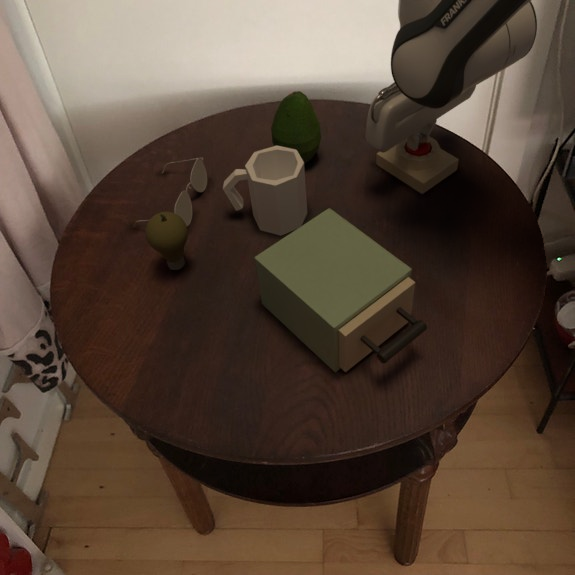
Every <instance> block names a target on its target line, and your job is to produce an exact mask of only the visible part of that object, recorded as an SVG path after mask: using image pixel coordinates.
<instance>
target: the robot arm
mask: <svg viewBox="0 0 575 575" xmlns="http://www.w3.org/2000/svg"><path fill="white" fill-rule="evenodd" d="M397 3H398V4H397V18H398V22H399V29H398V31H397V33H396V35H395V38H394V41H393V44H392V48H391V54H390V73H391V76H392V78H393V79H392V80H393V83H391V84H390V85H389V86H387V87H384V88H381V89H380V90H379V92H378V93H377V95H376V96H375V97H374V98H373V99H372V101H371V103H370V105H369V109H368V112H367V117H366V124H365V132H364V141H365V142H366V143H367V144H368V145H369V146H370V147H372V148H373V149H375V150H376V151H378V152H383V153H384V152H387V151H388V150H390V149H391V148H393V147H394V146H396V145H397V144H399V143H401V142H402V141H404V140H405V139H407V138H408V141H407V146H408V148H410V149H411V150H413V151H416V150H417V149H418V148H420V147H422V146H423V145H425V144H426V143H428V142H429V136H430V134H431V133H432V131H433V129H434V127H435V126H436V125H437V122H438V119H440V118H441V117H442V116H444V115H446V114H447V113H449V112H450V111H452V110H453V109H455V108H456V107H458V106H460V105H461V104H462V103H464V102H466V101H467V100H469V99H470V98H471V97H472V95H473V94H474V92H475V91H476V88H477V86H478V85H479V84H481V83H483V82H485V81H487V80H488V79H490V78H491V77H493V76H495V75H497V74H499V73H500V72H502V71H504V70H505V69H507V68H510V66H512V65H514V64H516V63H517V62H519V61H520V60H522V59H523V58H525V57H526V56H527V55H529V53H530V52H531V50H532V48H533V47H534V44H535V41H536V37H537V31H538V19H537V13H536V10H535V7H534V4H533V2H532V0H398V2H397Z"/></svg>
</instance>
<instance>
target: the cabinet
mask: <svg viewBox="0 0 575 575" xmlns="http://www.w3.org/2000/svg"><path fill="white" fill-rule="evenodd" d="M253 259H254V264H255V270H256V276H257V282H258V288H259V294H260V298H261V300H260V301H261V304H262V305H263V306H264V308H266V309H267V310H268V311H269V312H270V313H271V314H272V315H273V316H274V317H275V318H276V319H277V320H278V321H279V322H281V323H282V324H283V325H284V326H285V327H286V328H287V329H288V330H289V331H290V332H291V333H292V334H293V335H294V336H295V337H296V338H298V340H300V341H301V342H302V343H303V344H304V345H305V346H306V347H307V348H308V349H309V350H310V351H312V352H313V353H314V355H315V356H317V357H318V358H319V359H320V360H321V361H322V362H323V363H324V364H325V365H327V367H329V369H330V370H332V372H334V373H337V372H338V371H339V370H342V369H341V368H340V367H339V338H338V330H339V328H340V327H341V326H343V325H344V324H345V323H347V322H348V321H349V320H350V319H352V318H353V317H354V316H356V315H357V314H358V313H360V312H361V311H362V310H364V309H365V308H366V307H368V306H369V305H370V304H372V303H373V302H374V301H376V300H377V299H378V298H379V297H381V296H382V295H383V294H385V293H386V292H387V291H389V290H390V289H391V288H393V287H394V286H397V285H398V284H399V283H401V282H402V281H403V280H405V279H406V278H407V277H409V278H410V279H412V273H413V272H412V271H413V269H412V267H410V266H408V265H407V264H406V263H405V262H403V261H401V260H400V259H399V258H398V257H397V256H395V255H394V254H393V253H391V252H390V251H388V250H387V249H386V248H384V247H383V246H381V245H380V244H379V243H377V241H374V239H372V238H371V237H369V236H368V235H367V234H365V233H364V232H363V231H361V230H360V229H358V228H357V227H356V226H355V225H353V223H351V222H349V221H348V220H346V219H345V218H344V217H342V216H341V215H340V214H338V213H337V212H336V211H334V210H333V209H332V208H331V207H329V208H327V209H326V210H324V211H322V212H321V213H320V214H317V215H316V216H315V217H313V218H312V219H310V220H309V221H307V222H306V223H304V224H302V226H301V227H300V228H298V229H296V230H293V231H291V232H290V233H289V234H287V235H286V236H284V237H283V238H281V239H280V240H278V241H277V242H275V243H274V244H272V245H271V246H269V247H268V248H267V249H265V250H263V251H262V252H260V253H259V254H257V255H255V256H254V257H253Z"/></svg>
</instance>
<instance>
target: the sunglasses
mask: <svg viewBox="0 0 575 575" xmlns="http://www.w3.org/2000/svg"><path fill="white" fill-rule="evenodd" d="M189 161H195V162H194V164H193V167H192V169H191V172H190V177H189V178H190V179H189V180H190V182H189V183H188V184H186V188H185V190H182V191H181V192H180V193H179V196H178V198H177V200H176V202H175V204H174V210H173V211H174V212H173V213H175V214H177V215H179V216H180V217H181V218H182V219H183V220H184V222H185V224H186V226H187V227H189V226H190V225H191V222H192V221H193V204H192V200H191V197H190V194H189V193H188V189H190V191H191V192H192V193H194V192H195V191H196V192H197V193H203V192H205V190H206V189H207V186H208V173H207V169H206V166H205V163H204V157H196V158H190V159H184V160H178V161H177V163H182V162H189ZM171 164H176V161H171V162H168V163H166V164H165V165H164V166H163V169H162V171H161V174H164V172H165V169H166V167H167V166H168V165H171ZM190 186H191V187H190ZM149 220H150V219H141V220H136V221H135V223H134V225H133V229H136V226H137V223H141V222H149Z"/></svg>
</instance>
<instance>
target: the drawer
mask: <svg viewBox="0 0 575 575" xmlns="http://www.w3.org/2000/svg"><path fill="white" fill-rule="evenodd" d="M415 289H416V281H414V280H413V279H412V278H411V279H410V278H409V277H407V278H406V279H405V280H403V281H402V282H401V283H399V284H398V285H397V286H394V287H393V288H391V289H390V290H389V291H387V292H386V293H385V294H383V295H382V296H381V297H379V298H378V299H377V300H376V301H374V302H373V303H372V304H370V305H369V306H368V307H366V308H365V309H364V310H362V311H361V312H360V313H358V314H357V315H356V316H354V317H353V318H352V319H350V320H349V321H348V322H347V323H345V324H344V325H343V326H341V327H340V328H339V330H338V338H339V367H340V368H341V369H340V370H342V371H343V372H344V373H347V372H348V371H349V370H351V368H353V367H354V366H356V364H358V363H359V362H360V361H362V360H363V359H364V358H365V357H367V356H368V355H369V354H371V353H372V352H373V353H375V354H376V358H377V359H378V361H379V362H380V363H382V364H386V363H387V362H389V361H390V360H391V359H392V358H393V357H395V356H396V355H397V354H398V353H400V352H401V351H402V350H403V349H404V348H406V347H407V346H409V344H411V343H412V341H414V340H415V339H417V338H418V337H419V336H421V335H422V334H423V333H424V332H425V331H427V329H428V325H427V324H426V322H425V321H424V320H422V319H418V320H417V319H416V318H415V317H413V316H412V311H413V303H414V295H415ZM408 323H409V324H410V325H411V326H409V327H408V328H407V329H406V330H404V331H403V332H402V333H400V334H399V335H398V336H397V337H396V338H394V339H393V340H392V341H391V342H389V343H388V344H387V345H386V346H384V347H383V348H382V349H381V348H380V347H379V346H380V345H382V344H383V343H384V342H386V341H388V339H389V338H391V337H392V336H393V335H394V334H396V333H397V332H398V331H400V330H401V329H402V328H403V327H405V325H407V324H408Z"/></svg>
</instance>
